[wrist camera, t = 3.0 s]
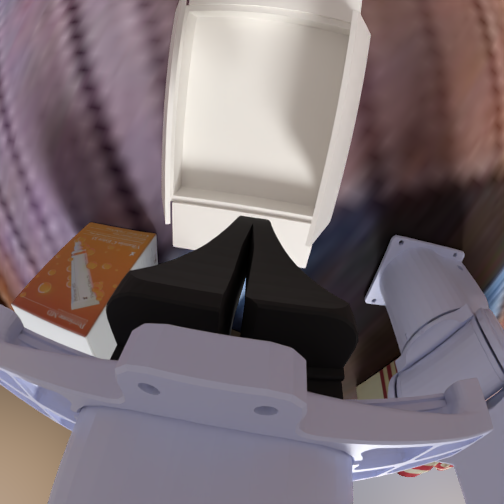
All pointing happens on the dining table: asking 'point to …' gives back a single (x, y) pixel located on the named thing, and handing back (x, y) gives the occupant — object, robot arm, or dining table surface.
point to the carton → (255, 115)
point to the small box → (84, 287)
